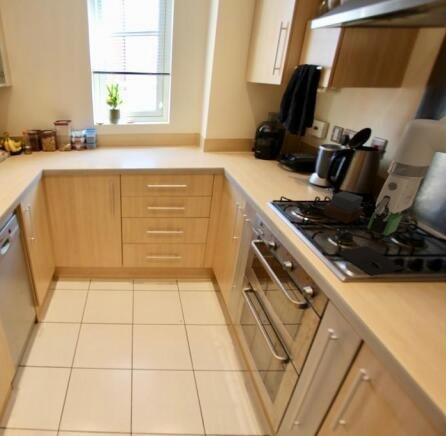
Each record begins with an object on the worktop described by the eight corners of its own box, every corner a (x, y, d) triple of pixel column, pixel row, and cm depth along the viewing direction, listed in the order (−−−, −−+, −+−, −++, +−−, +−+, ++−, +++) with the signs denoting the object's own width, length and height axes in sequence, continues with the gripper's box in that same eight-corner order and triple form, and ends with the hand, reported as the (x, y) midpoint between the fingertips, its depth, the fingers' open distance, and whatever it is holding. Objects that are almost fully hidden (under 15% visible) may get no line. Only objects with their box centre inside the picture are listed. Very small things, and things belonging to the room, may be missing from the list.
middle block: (340, 200, 124) (343, 190, 122) (359, 206, 118) (363, 197, 117) (329, 204, 121) (332, 194, 119) (348, 211, 116) (352, 201, 114)
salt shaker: (389, 222, 116) (402, 192, 111) (409, 228, 112) (424, 197, 107) (384, 227, 113) (397, 197, 108) (404, 234, 109) (419, 202, 103)
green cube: (376, 223, 94) (382, 208, 92) (395, 231, 90) (402, 215, 88) (366, 227, 92) (373, 212, 90) (386, 235, 88) (393, 220, 86)
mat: (366, 247, 103) (367, 246, 102) (404, 269, 92) (404, 268, 92) (336, 253, 100) (336, 252, 100) (370, 276, 90) (371, 274, 90)
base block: (336, 208, 127) (339, 198, 125) (360, 217, 120) (364, 207, 118) (322, 214, 123) (325, 203, 121) (346, 223, 116) (350, 213, 114)
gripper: (408, 179, 76) (380, 243, 85) (440, 167, 83) (411, 227, 92) (373, 170, 82) (351, 230, 90) (406, 159, 89) (382, 216, 98)
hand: (381, 228), depth 91 cm, fingers closed on green cube, 5 cm apart
